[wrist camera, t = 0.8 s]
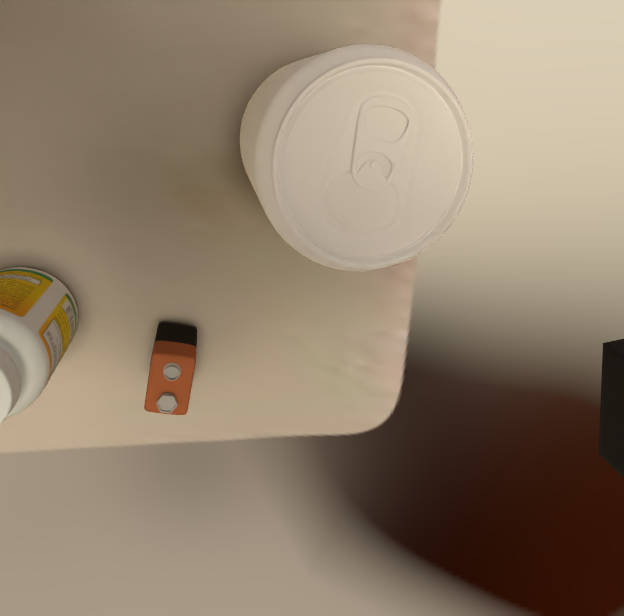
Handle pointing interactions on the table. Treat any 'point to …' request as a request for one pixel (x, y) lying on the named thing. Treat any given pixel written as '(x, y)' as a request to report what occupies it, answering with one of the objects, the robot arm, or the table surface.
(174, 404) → the battery
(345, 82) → the beverage can
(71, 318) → the supplement bottle
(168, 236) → the table surface
